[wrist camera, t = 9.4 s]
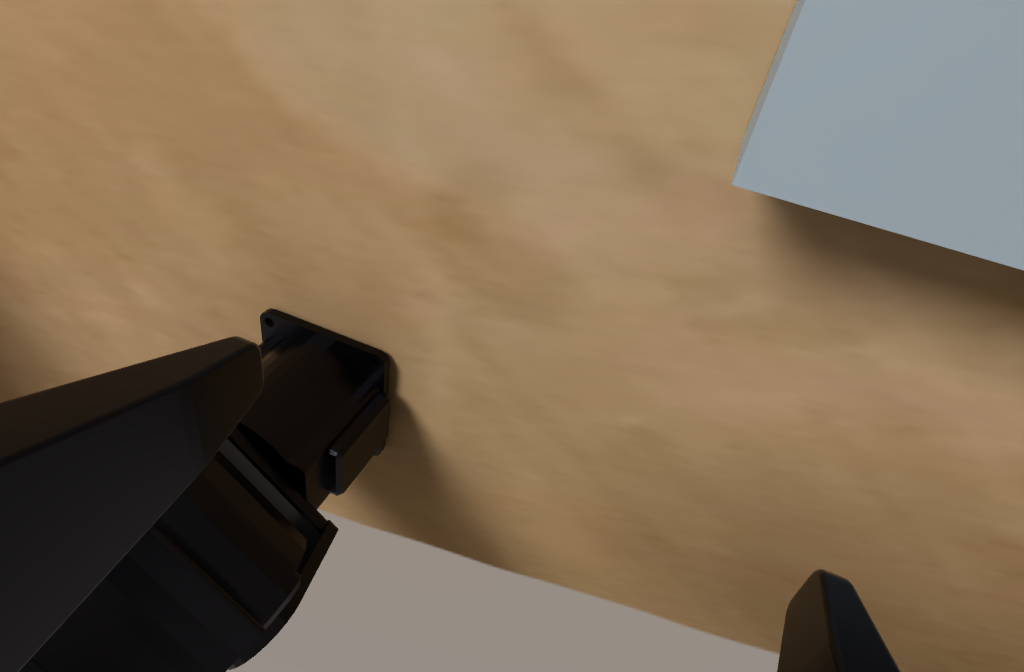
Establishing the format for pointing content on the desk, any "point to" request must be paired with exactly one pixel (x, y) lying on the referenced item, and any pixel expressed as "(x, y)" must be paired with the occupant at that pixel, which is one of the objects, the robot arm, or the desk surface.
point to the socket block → (899, 120)
